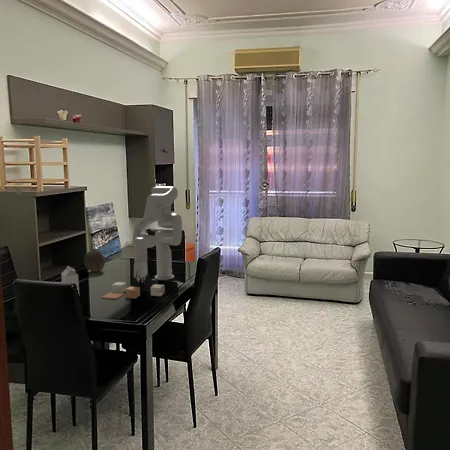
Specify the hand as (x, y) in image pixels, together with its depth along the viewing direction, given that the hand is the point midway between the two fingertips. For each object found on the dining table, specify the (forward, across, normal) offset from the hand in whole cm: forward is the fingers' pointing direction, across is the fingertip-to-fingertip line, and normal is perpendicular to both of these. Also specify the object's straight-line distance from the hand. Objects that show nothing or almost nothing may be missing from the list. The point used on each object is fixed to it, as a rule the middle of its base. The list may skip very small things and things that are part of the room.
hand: (141, 288), depth 268 cm
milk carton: (+1, +27, -30) cm, 40 cm away
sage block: (+2, +5, -12) cm, 13 cm away
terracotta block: (+1, +12, 0) cm, 12 cm away
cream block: (+2, +5, +12) cm, 13 cm away
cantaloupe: (+2, -35, -51) cm, 62 cm away
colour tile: (+1, +15, -11) cm, 19 cm away
